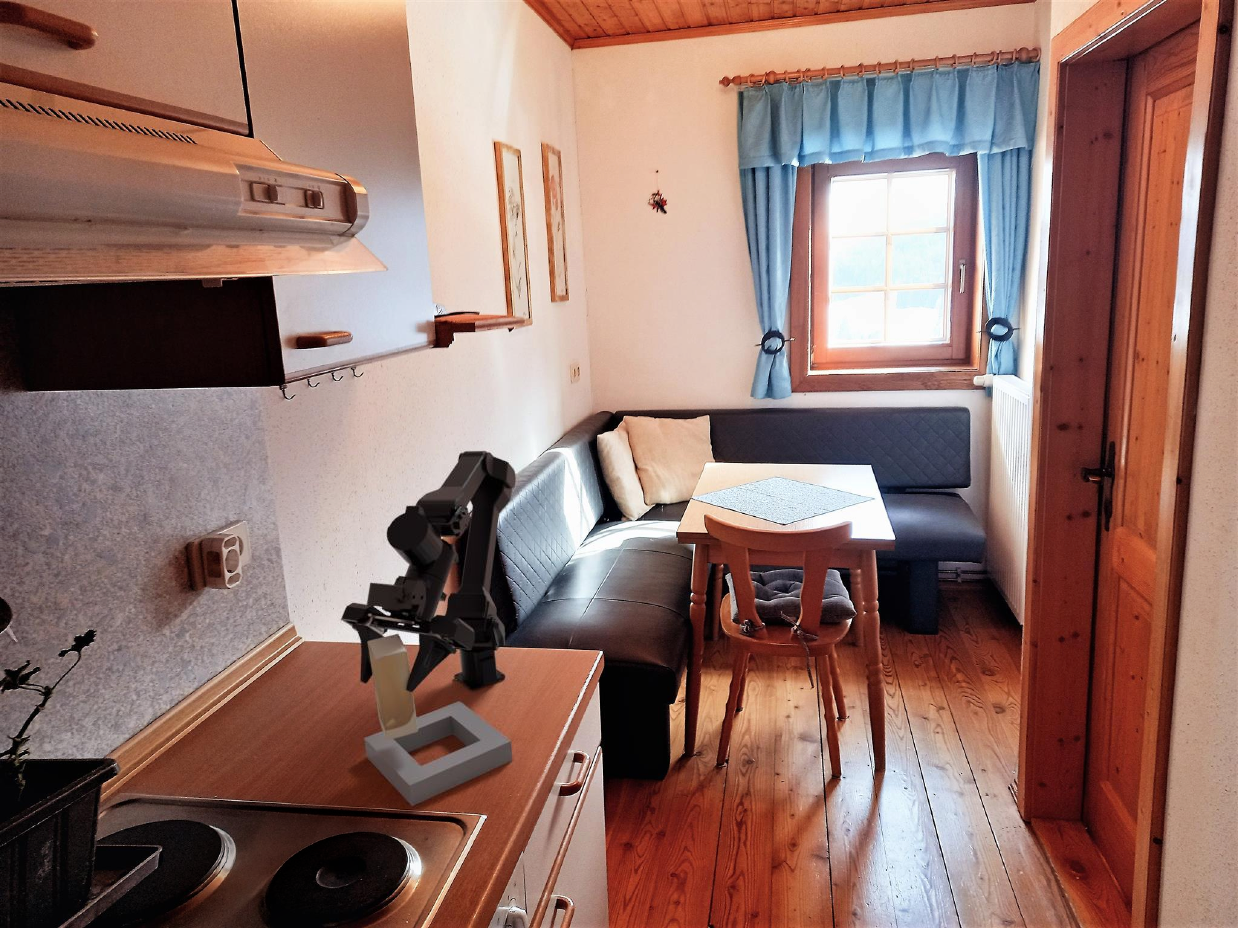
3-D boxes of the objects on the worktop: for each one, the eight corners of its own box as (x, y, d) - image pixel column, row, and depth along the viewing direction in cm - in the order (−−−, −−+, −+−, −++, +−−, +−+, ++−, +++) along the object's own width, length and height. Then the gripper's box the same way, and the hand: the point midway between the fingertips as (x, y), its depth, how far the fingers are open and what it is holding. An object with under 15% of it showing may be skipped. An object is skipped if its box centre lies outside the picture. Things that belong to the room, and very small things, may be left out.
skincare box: (378, 720, 116) (365, 639, 113) (409, 711, 118) (398, 631, 115) (386, 742, 110) (373, 658, 107) (419, 732, 112) (407, 649, 109)
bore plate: (366, 756, 118) (364, 737, 118) (461, 718, 127) (459, 700, 127) (412, 806, 107) (409, 785, 106) (512, 760, 116) (510, 740, 115)
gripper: (340, 548, 115) (294, 657, 108) (454, 561, 108) (412, 679, 101) (384, 580, 124) (343, 683, 117) (491, 594, 117) (455, 704, 110)
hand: (385, 686), depth 111 cm, fingers closed on skincare box, 7 cm apart
